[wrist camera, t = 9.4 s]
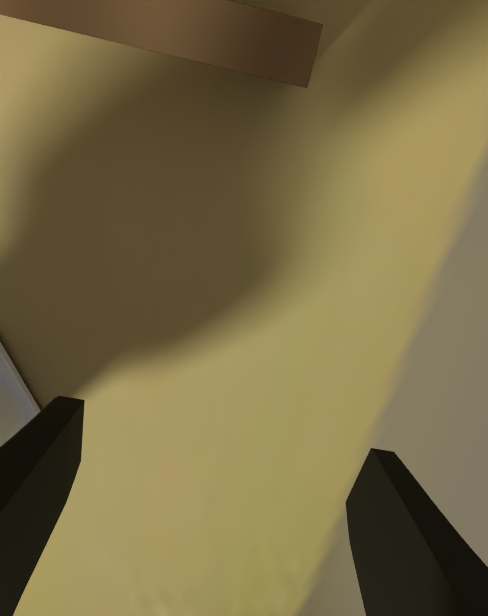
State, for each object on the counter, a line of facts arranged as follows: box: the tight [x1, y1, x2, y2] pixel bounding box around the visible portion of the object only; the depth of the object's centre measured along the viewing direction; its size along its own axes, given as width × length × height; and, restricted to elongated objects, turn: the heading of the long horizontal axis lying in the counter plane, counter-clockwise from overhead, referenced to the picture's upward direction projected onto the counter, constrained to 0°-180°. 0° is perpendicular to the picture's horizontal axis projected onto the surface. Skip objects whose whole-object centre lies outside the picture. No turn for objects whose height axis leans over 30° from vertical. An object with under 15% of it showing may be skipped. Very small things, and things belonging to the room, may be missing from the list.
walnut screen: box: [0, 0, 323, 88], centre depth 13 cm, size 14×2×4 cm, turn 78°
